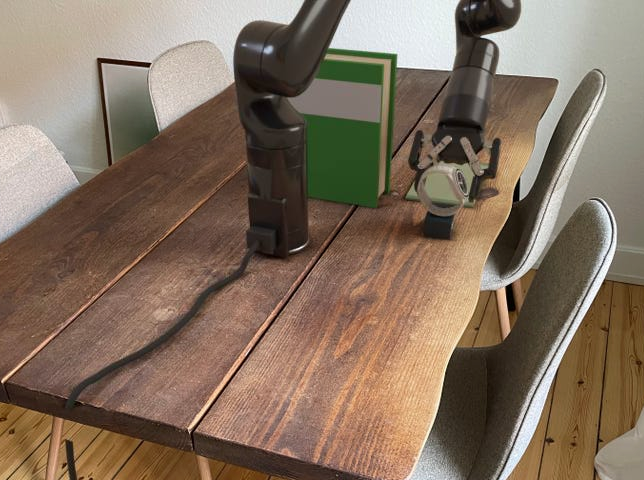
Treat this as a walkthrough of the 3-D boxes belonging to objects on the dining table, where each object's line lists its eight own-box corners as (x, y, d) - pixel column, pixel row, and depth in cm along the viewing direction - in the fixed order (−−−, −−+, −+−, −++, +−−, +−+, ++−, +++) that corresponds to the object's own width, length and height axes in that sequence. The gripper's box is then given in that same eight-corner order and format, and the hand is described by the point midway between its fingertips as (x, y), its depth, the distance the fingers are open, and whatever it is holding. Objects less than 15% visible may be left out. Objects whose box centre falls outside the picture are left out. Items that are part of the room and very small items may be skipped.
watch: (462, 240, 121) (468, 179, 114) (412, 235, 123) (415, 174, 116) (467, 222, 125) (473, 161, 118) (418, 217, 127) (422, 157, 120)
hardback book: (389, 191, 137) (397, 54, 123) (376, 207, 132) (382, 65, 118) (301, 178, 144) (299, 45, 130) (285, 192, 138) (280, 56, 124)
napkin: (472, 207, 131) (473, 205, 131) (404, 199, 134) (405, 197, 134) (489, 165, 146) (489, 163, 146) (427, 159, 150) (427, 157, 149)
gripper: (420, 88, 122) (398, 183, 120) (511, 95, 117) (489, 194, 115) (425, 111, 129) (404, 200, 127) (511, 118, 124) (490, 212, 122)
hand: (444, 197), depth 121 cm, fingers closed on watch, 8 cm apart
